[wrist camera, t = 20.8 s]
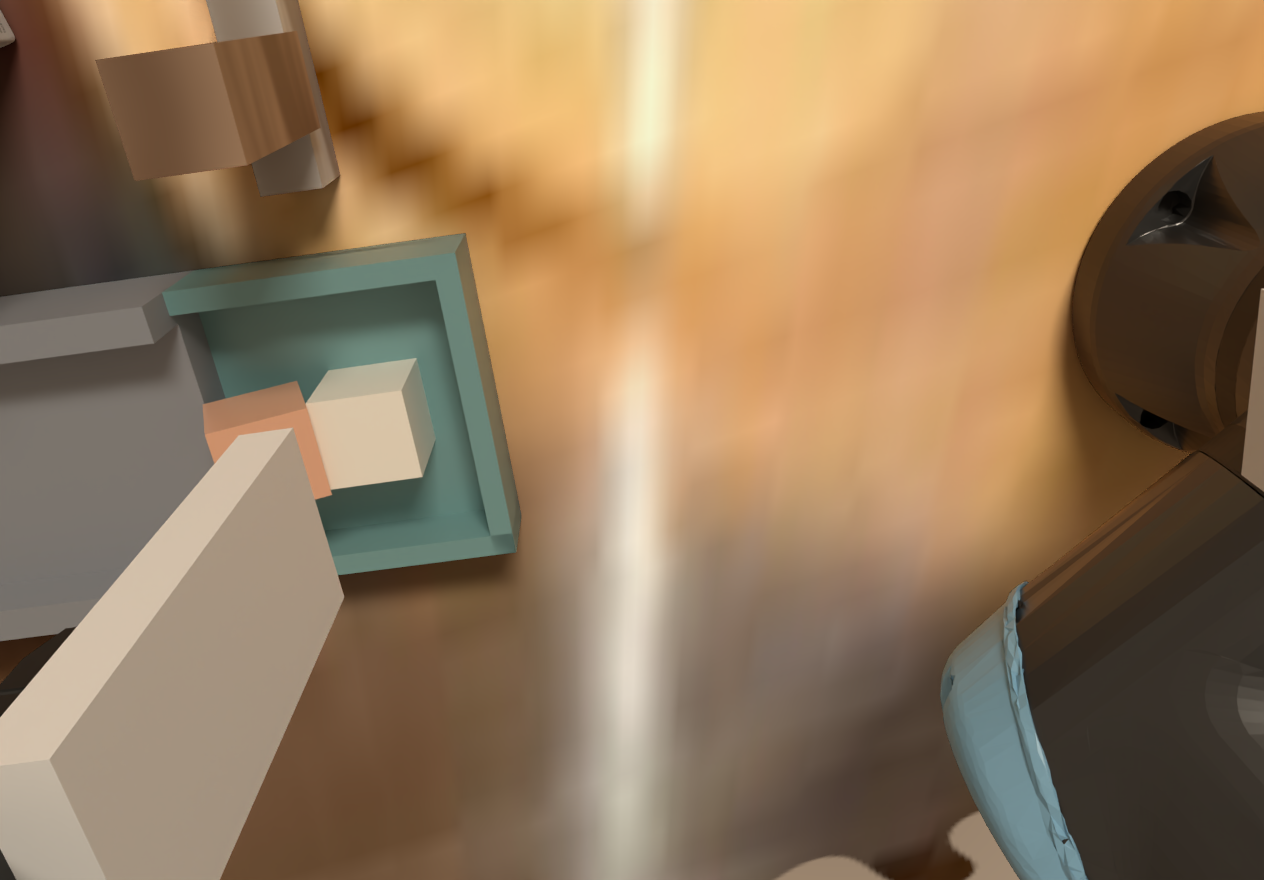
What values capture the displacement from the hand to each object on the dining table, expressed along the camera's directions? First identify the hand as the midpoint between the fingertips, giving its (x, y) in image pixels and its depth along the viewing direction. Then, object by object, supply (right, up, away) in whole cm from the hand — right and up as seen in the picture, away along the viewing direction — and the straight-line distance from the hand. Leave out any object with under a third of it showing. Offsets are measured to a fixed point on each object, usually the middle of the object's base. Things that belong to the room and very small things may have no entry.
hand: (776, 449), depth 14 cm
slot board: (-29, 0, +33) cm, 44 cm away
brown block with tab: (-16, +15, +27) cm, 35 cm away
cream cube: (-15, +1, +30) cm, 34 cm away
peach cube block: (-18, 0, +31) cm, 36 cm away
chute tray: (-14, +2, +33) cm, 36 cm away
